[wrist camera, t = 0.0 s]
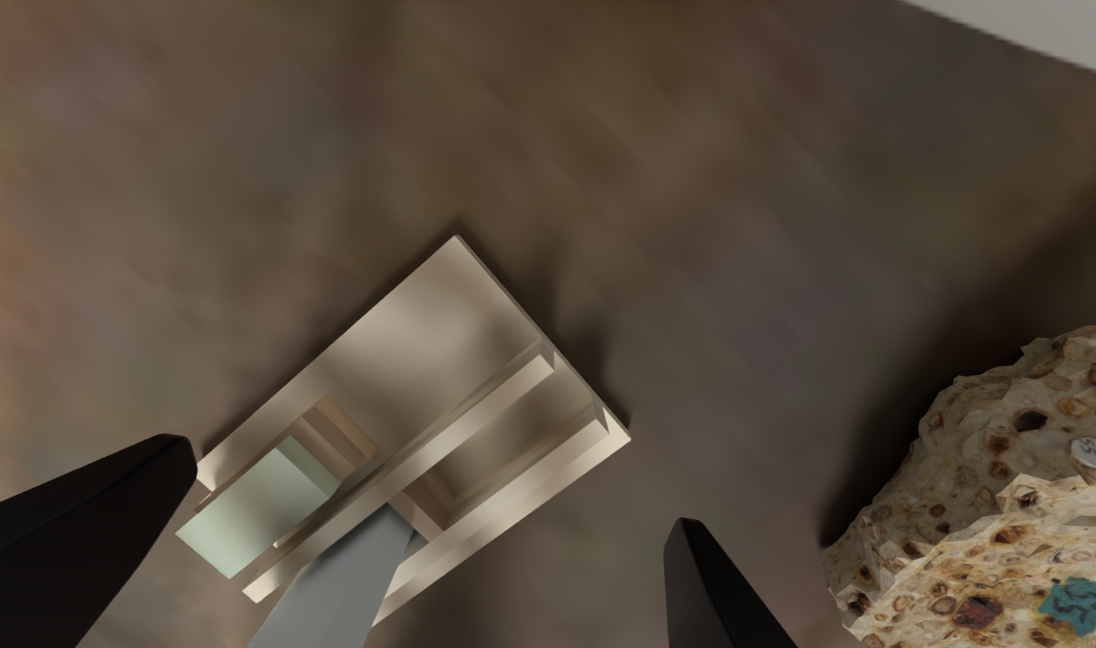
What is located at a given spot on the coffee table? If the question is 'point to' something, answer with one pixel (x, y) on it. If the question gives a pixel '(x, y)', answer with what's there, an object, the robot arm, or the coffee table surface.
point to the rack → (435, 423)
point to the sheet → (339, 588)
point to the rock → (985, 515)
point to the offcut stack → (278, 487)
